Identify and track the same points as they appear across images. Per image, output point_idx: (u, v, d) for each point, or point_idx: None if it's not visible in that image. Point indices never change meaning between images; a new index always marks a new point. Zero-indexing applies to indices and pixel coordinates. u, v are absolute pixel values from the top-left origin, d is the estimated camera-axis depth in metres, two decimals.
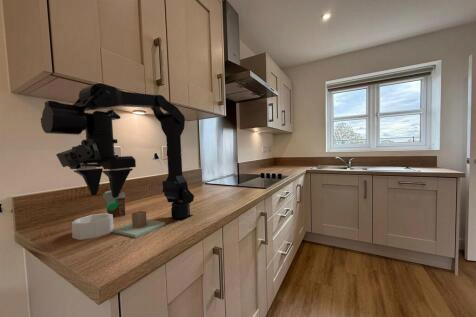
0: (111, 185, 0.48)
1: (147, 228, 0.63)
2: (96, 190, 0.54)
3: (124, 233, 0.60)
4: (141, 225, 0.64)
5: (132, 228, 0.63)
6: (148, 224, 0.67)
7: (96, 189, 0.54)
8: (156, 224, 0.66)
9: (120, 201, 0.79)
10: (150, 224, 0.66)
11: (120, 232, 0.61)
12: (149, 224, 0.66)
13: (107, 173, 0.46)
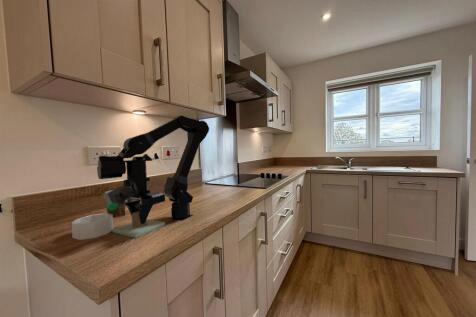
0: (140, 215, 0.63)
1: (147, 228, 0.63)
2: None
3: (124, 233, 0.60)
4: (141, 225, 0.64)
5: (132, 228, 0.63)
6: (148, 224, 0.67)
7: None
8: (156, 224, 0.66)
9: None
10: (150, 224, 0.66)
11: (120, 232, 0.61)
12: (149, 224, 0.66)
13: (138, 206, 0.61)
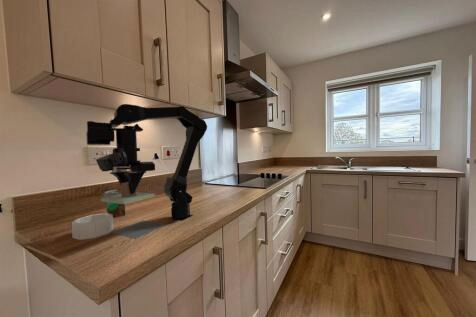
0: (130, 184, 0.62)
1: (136, 197, 0.62)
2: None
3: (112, 201, 0.59)
4: (130, 195, 0.63)
5: (121, 197, 0.62)
6: (138, 195, 0.66)
7: None
8: (146, 195, 0.65)
9: None
10: (140, 195, 0.65)
11: (108, 200, 0.60)
12: (138, 195, 0.65)
13: (127, 174, 0.60)
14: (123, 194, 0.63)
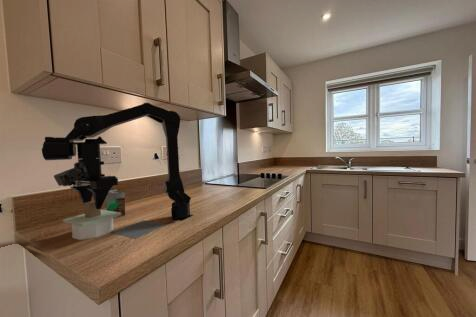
0: (95, 199, 0.60)
1: (99, 218, 0.60)
2: None
3: (73, 223, 0.58)
4: (94, 215, 0.62)
5: (83, 218, 0.61)
6: (103, 214, 0.64)
7: None
8: (110, 214, 0.64)
9: (120, 201, 0.79)
10: (104, 214, 0.64)
11: (69, 222, 0.59)
12: (103, 214, 0.64)
13: (91, 190, 0.58)
14: (86, 214, 0.62)
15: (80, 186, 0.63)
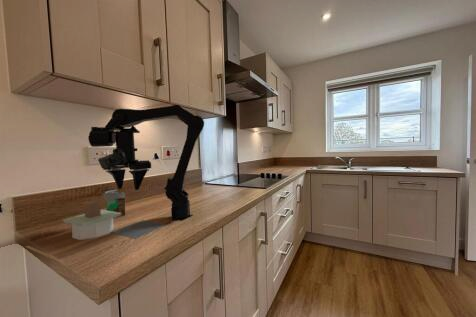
0: (134, 181, 0.68)
1: (99, 218, 0.60)
2: (121, 185, 0.74)
3: (73, 223, 0.58)
4: (94, 215, 0.62)
5: (83, 218, 0.61)
6: (103, 214, 0.64)
7: (121, 184, 0.74)
8: (110, 214, 0.64)
9: (120, 201, 0.79)
10: (104, 214, 0.64)
11: (69, 222, 0.59)
12: (103, 214, 0.64)
13: (132, 172, 0.66)
14: (86, 214, 0.62)
15: (114, 170, 0.72)
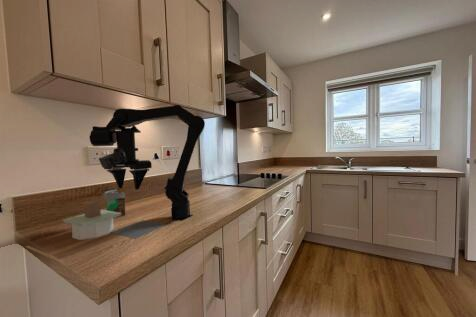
0: (134, 180, 0.68)
1: (99, 218, 0.60)
2: (122, 184, 0.74)
3: (73, 223, 0.58)
4: (94, 215, 0.62)
5: (83, 218, 0.61)
6: (103, 214, 0.64)
7: (121, 184, 0.74)
8: (110, 214, 0.64)
9: (120, 201, 0.79)
10: (104, 214, 0.64)
11: (69, 222, 0.59)
12: (103, 214, 0.64)
13: (132, 172, 0.66)
14: (86, 214, 0.62)
15: (115, 169, 0.73)
